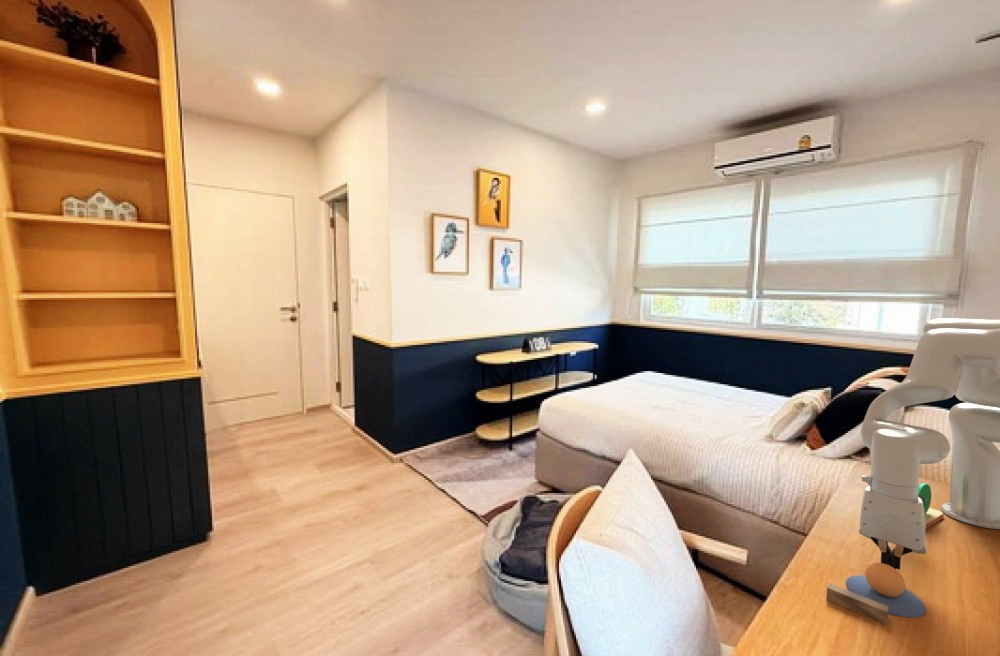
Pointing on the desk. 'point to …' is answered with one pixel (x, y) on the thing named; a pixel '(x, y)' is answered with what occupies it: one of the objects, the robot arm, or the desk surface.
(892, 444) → the robot arm
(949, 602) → the desk surface
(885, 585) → the ball
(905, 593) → the mark
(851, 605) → the stopper strip
